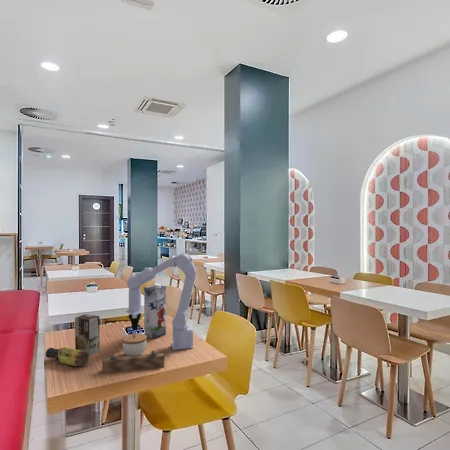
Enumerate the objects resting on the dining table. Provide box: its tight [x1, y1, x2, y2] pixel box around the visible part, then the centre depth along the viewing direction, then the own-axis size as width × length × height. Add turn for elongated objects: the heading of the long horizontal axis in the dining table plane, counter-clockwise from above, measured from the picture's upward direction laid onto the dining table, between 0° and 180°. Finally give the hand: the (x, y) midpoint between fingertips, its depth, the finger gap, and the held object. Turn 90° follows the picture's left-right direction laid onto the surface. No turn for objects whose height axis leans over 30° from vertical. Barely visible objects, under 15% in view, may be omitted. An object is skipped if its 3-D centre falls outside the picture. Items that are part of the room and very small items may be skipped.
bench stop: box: [101, 350, 165, 374], centre depth 136 cm, size 24×3×6 cm, turn 104°
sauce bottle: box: [44, 347, 90, 368], centre depth 141 cm, size 6×6×20 cm
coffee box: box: [74, 313, 101, 356], centre depth 154 cm, size 9×6×16 cm
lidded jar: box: [121, 333, 148, 356], centre depth 150 cm, size 11×11×9 cm
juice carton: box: [143, 283, 167, 339], centre depth 176 cm, size 9×10×27 cm
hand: (134, 329), depth 160 cm, fingers closed
